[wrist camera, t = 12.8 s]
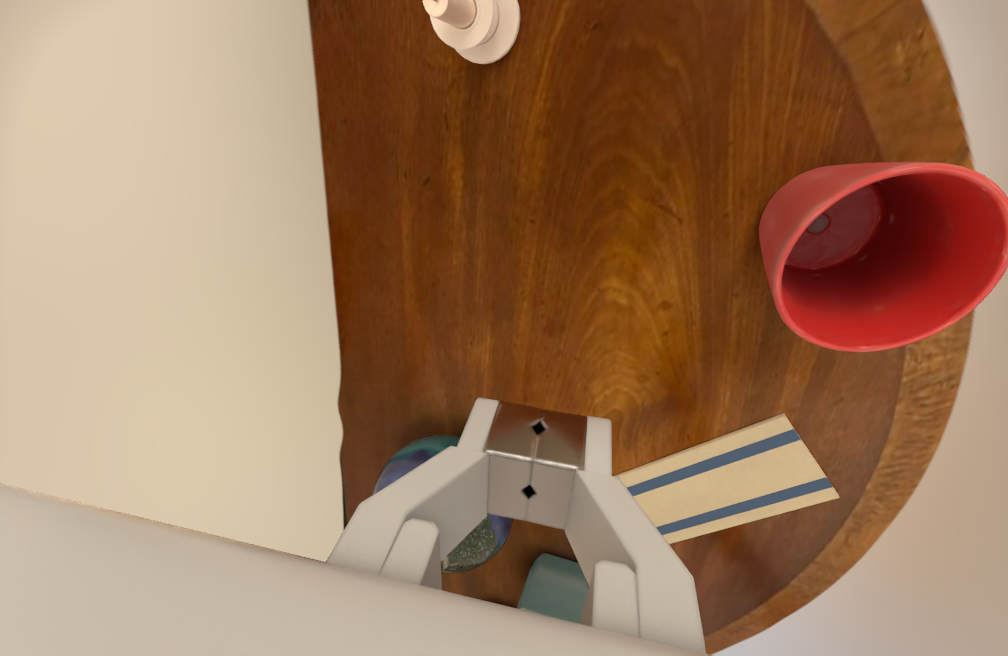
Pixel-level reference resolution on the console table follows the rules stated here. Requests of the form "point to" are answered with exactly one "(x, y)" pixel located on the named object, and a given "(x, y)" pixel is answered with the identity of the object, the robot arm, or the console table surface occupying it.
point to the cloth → (729, 481)
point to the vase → (481, 538)
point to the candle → (476, 26)
